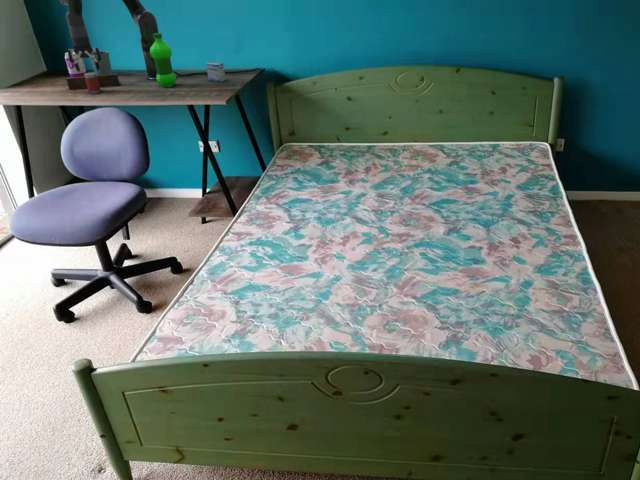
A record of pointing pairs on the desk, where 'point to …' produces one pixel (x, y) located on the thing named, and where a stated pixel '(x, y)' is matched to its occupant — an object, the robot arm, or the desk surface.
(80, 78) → the wooden wall
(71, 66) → the supplement can
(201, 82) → the desk surface
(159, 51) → the plastic bottle
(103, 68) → the grey cup
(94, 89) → the tin can
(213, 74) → the medicine box
